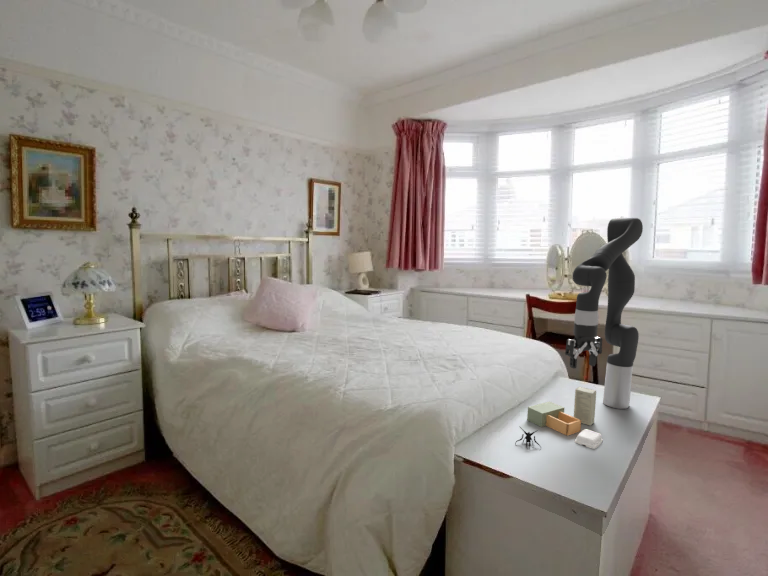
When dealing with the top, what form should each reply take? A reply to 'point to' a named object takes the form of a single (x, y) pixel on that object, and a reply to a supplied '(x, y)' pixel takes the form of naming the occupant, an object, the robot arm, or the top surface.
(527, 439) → the creature
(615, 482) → the top surface
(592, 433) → the soap
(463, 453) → the top surface
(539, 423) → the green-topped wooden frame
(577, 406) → the skincare box
